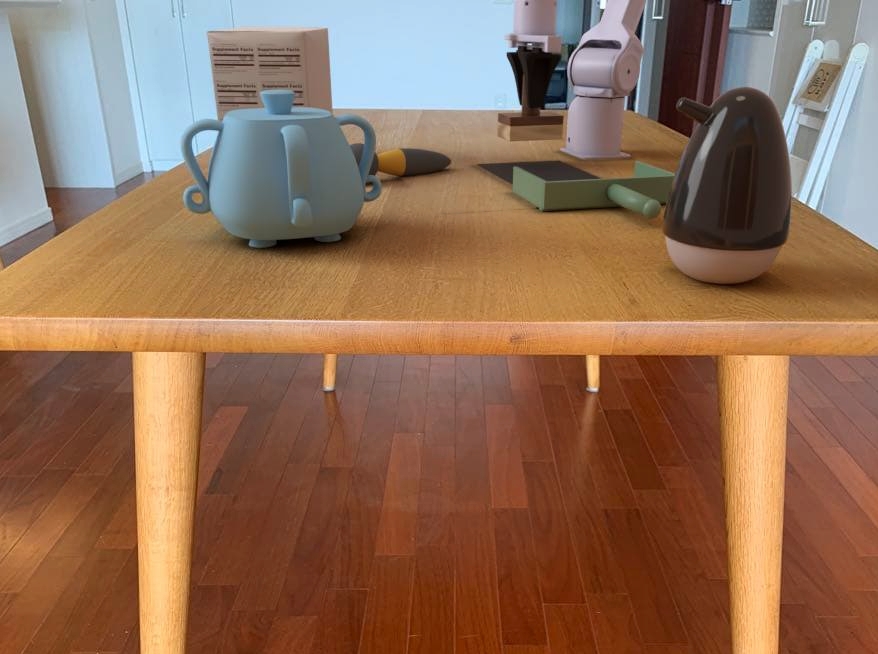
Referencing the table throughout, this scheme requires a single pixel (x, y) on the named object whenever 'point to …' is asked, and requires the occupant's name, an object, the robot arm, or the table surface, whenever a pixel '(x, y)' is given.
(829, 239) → the table surface
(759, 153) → the pump dispenser
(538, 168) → the mat
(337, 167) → the decorative pot
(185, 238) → the table surface
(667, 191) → the dustpan
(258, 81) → the supplement box
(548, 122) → the brush
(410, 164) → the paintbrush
